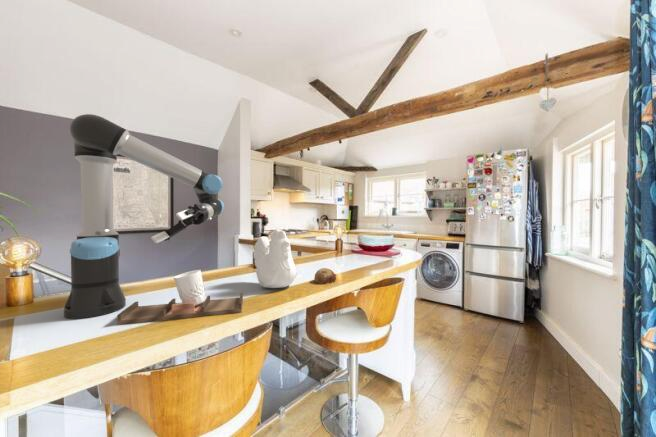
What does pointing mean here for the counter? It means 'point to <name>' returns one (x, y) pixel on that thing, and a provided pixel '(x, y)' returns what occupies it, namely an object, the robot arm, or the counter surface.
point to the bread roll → (324, 276)
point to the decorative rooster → (274, 260)
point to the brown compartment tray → (179, 310)
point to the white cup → (190, 287)
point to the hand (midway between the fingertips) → (166, 228)
